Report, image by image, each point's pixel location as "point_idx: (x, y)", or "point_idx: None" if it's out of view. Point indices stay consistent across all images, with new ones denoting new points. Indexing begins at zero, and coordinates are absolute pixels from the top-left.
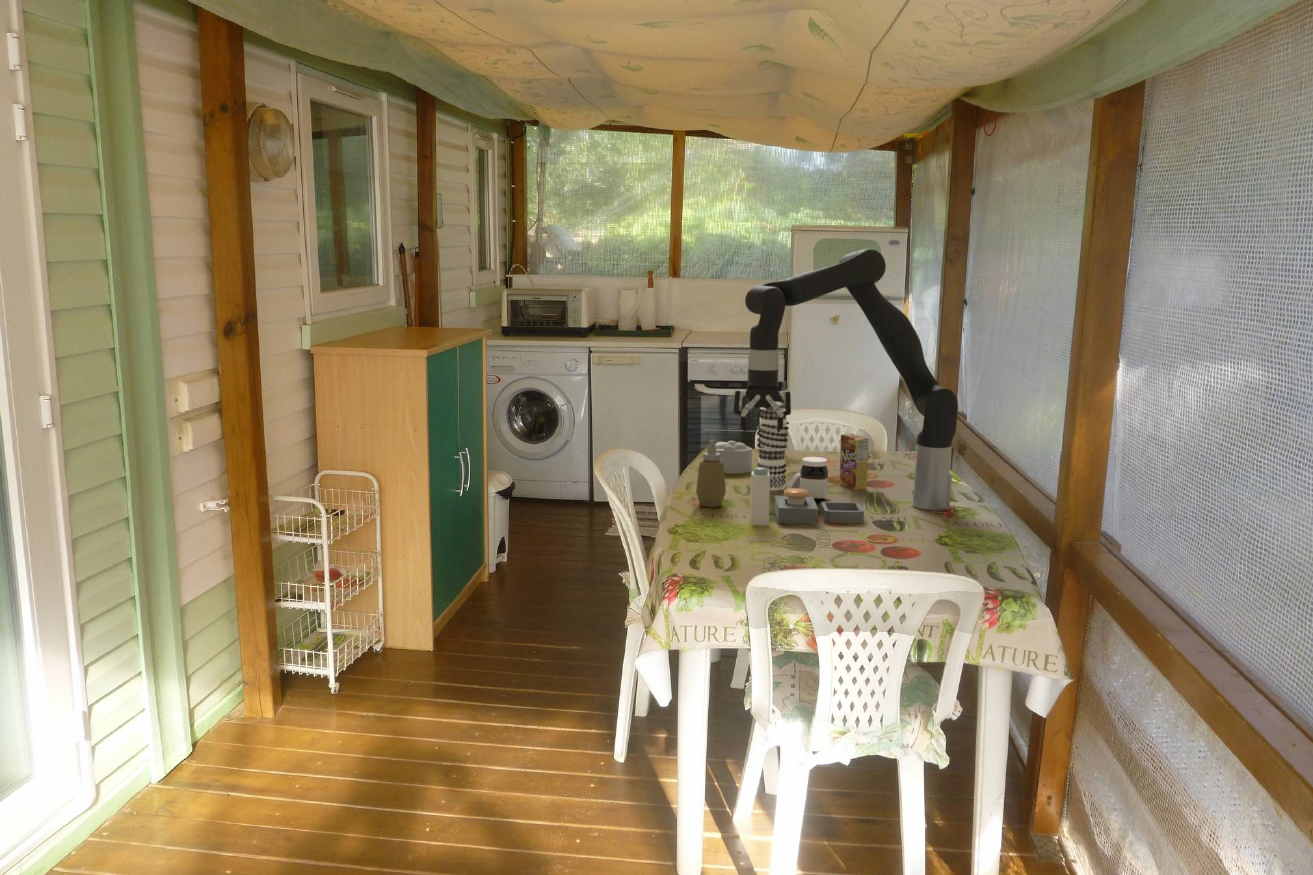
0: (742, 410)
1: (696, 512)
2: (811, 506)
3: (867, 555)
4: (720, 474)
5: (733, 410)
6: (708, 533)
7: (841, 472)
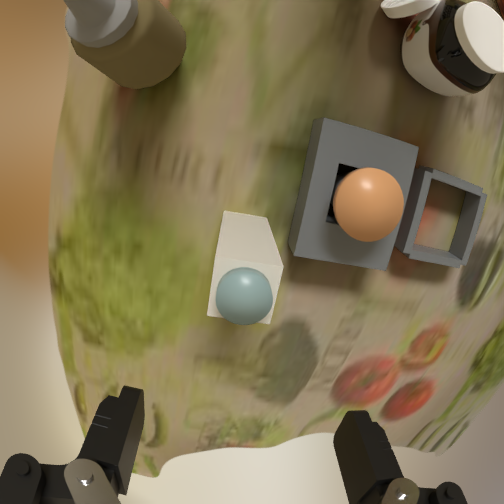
0: (77, 499)
1: (104, 129)
2: (380, 248)
3: None
4: (145, 61)
5: (11, 470)
6: (118, 302)
7: None
